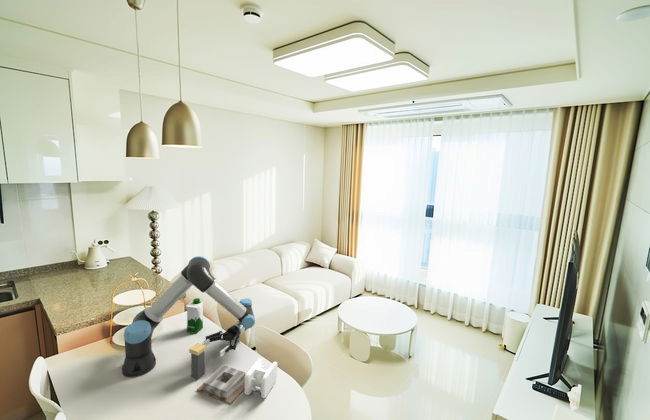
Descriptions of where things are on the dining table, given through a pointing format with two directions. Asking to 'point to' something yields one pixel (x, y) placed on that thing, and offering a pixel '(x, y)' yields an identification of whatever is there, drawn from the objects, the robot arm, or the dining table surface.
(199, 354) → the plug
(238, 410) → the dining table surface
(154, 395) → the dining table surface
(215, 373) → the socket
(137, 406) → the dining table surface
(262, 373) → the cable organizer
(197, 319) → the milk carton
